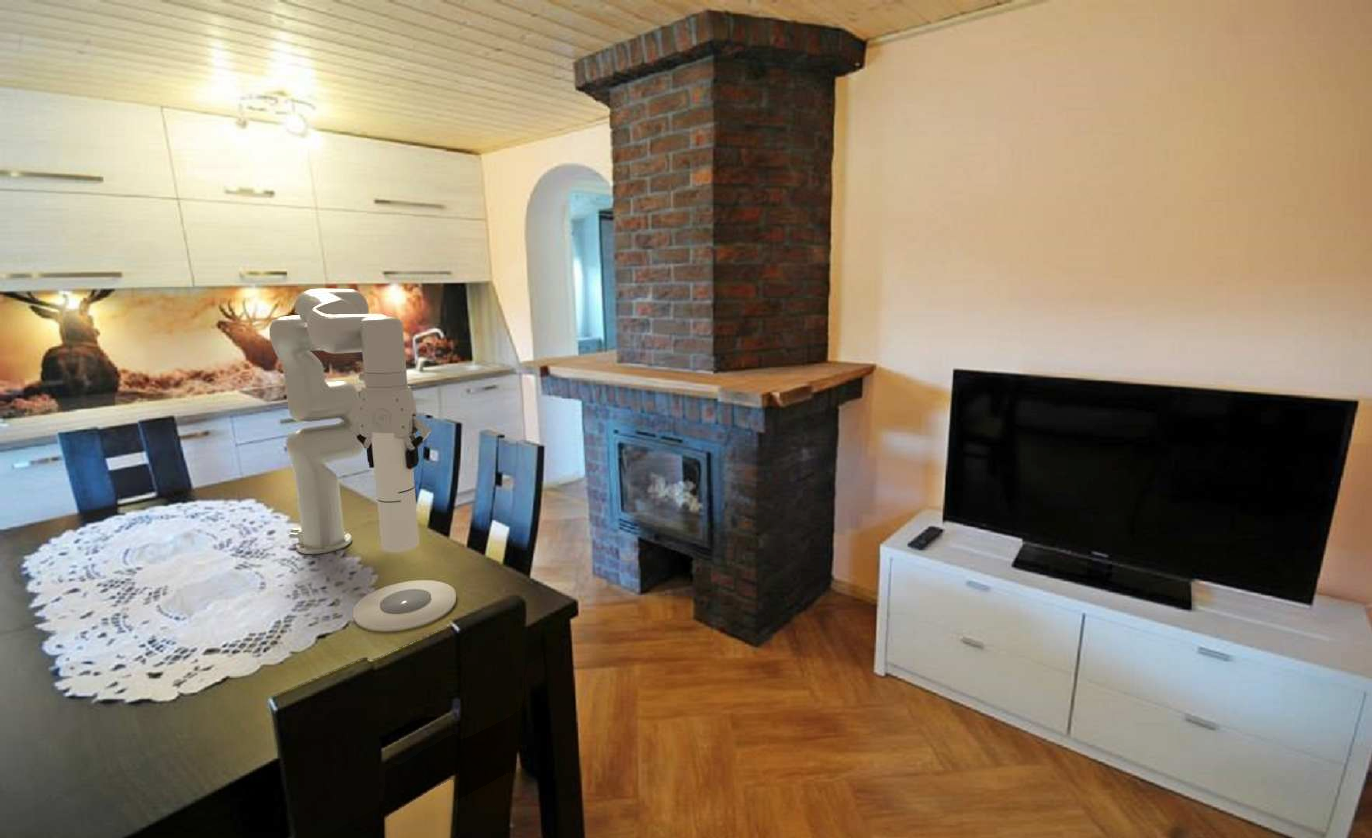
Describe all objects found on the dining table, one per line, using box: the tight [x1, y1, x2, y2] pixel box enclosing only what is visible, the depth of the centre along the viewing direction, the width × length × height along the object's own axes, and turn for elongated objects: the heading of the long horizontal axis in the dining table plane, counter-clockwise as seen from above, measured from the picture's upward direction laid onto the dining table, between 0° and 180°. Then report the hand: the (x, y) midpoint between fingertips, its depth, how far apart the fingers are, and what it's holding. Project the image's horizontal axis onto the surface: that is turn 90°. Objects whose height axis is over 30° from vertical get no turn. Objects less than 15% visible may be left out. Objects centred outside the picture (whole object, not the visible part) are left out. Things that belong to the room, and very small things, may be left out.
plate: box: [352, 579, 457, 633], centre depth 132 cm, size 20×20×1 cm
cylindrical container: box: [371, 432, 420, 554], centre depth 127 cm, size 7×7×25 cm
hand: (393, 466), depth 126 cm, fingers closed on cylindrical container, 7 cm apart
